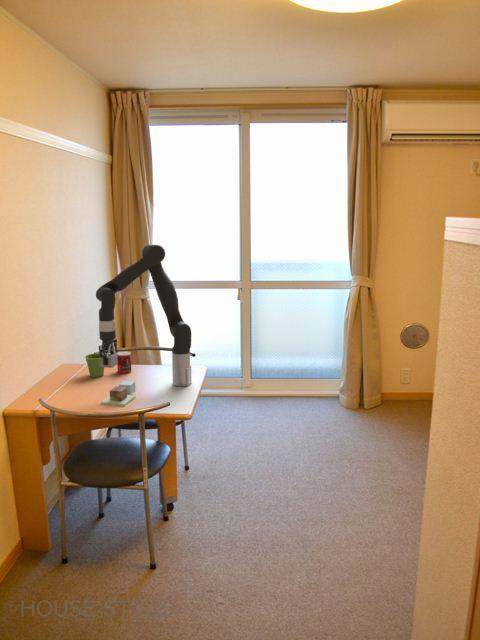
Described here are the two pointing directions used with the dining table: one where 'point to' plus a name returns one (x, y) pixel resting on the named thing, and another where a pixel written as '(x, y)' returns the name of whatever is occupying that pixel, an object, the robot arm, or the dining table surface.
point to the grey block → (110, 361)
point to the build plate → (121, 403)
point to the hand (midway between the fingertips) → (109, 363)
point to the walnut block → (118, 393)
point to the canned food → (124, 362)
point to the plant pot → (94, 365)
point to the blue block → (128, 386)
